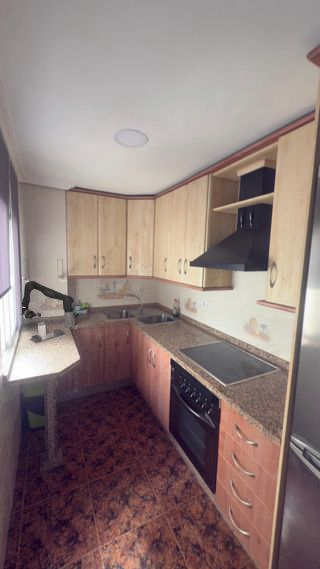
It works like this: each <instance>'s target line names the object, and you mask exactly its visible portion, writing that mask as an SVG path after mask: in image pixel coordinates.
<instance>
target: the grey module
mask: <svg viewBox="0 0 320 569" xmlns="http://www.w3.org/2000/svg"><path fill="white" fill-rule="evenodd" d="M37 329H38V330H37V331H38V334H37V335H38V336H43V335H47V331H46V330H47V328H46V322H45V321H40V322H37Z"/></svg>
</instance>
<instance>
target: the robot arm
mask: <svg viewBox="0 0 320 569" xmlns="http://www.w3.org/2000/svg"><path fill="white" fill-rule="evenodd" d="M33 290H36V291H38V292H40V293H41V294H43V295H44V296H45V297H47V298H49V299H53V300H58V301H61V302H62V307H63V308H62V309H63V314H64V315H63V317H64V328H65V329H70V328H73V327H75V326H76V324H75V320H76V319H75V317H74V308H73V303H74V302H75V299H74V298H73V297H72V296H70V295H67V294H64V293H61V292H59V291H57V290H54V289H53V288H50V287H47V286H44V285H42V284H41V283H39V282H37V281H35V280H29V281H28V282H26V283H25V285H24V290H23V298H22V301H21V304H22V305H21V307H26V308H22V314H21V315H23V316H24V318H25V319H27V320H28V319H29V320H33V318H41V317H42V313H41V312H35V311H34V310H31V309H30V308H29V306H30V302H31V292H32V291H33Z"/></svg>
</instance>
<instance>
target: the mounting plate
mask: <svg viewBox="0 0 320 569" xmlns="http://www.w3.org/2000/svg"><path fill="white" fill-rule="evenodd" d="M66 336H67V335H66V333H65V331H64V330H61V329H60V328H57V329H54V330H53V332H51V333H46V335H42V336H40V335H39V334H35V335H32V336H31V338H29V341H30V342H31V343H33V344H35V345H36V346H37V345H40V344H43V343H46V342H50V341H54V340H57V339H60V338H63V337H66Z"/></svg>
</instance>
